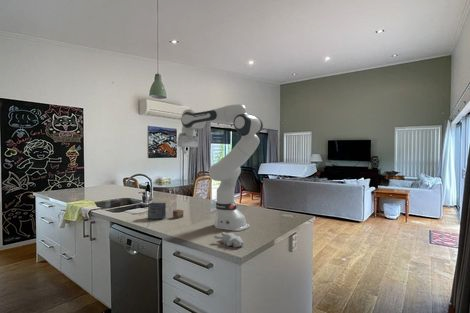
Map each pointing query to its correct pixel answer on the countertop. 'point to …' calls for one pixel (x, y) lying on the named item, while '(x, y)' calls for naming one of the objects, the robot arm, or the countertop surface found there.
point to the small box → (157, 211)
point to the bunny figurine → (230, 239)
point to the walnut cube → (178, 214)
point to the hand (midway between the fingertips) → (188, 153)
